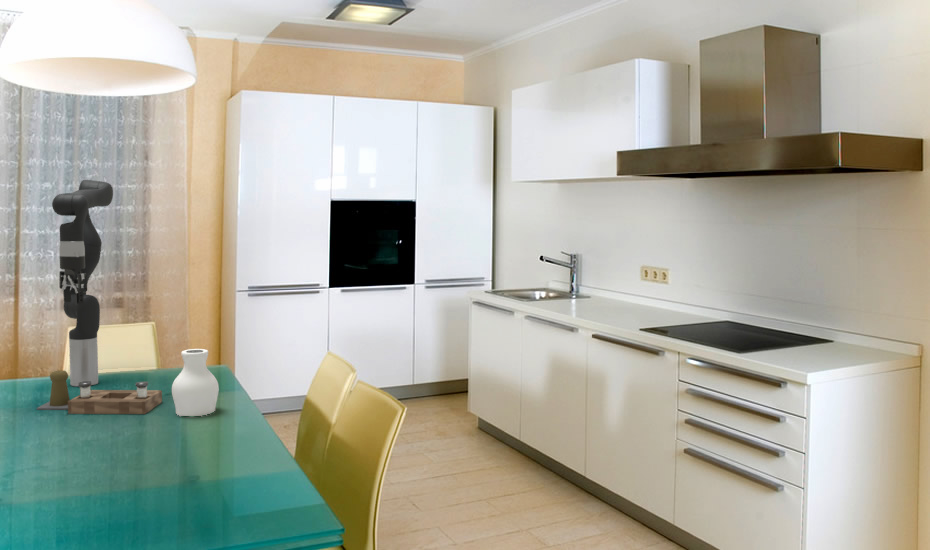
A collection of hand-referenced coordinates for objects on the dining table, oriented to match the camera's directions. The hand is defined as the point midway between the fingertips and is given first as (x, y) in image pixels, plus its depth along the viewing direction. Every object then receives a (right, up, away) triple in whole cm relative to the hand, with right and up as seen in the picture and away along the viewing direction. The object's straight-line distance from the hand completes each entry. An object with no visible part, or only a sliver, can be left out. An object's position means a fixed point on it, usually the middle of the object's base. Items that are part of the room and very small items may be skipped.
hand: (73, 303), depth 253 cm
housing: (+17, -34, -5) cm, 38 cm away
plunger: (+8, -33, -8) cm, 35 cm away
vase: (+44, -35, -9) cm, 57 cm away
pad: (-2, -34, -4) cm, 34 cm away
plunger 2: (+26, -34, -7) cm, 43 cm away
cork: (-2, -33, -4) cm, 33 cm away
